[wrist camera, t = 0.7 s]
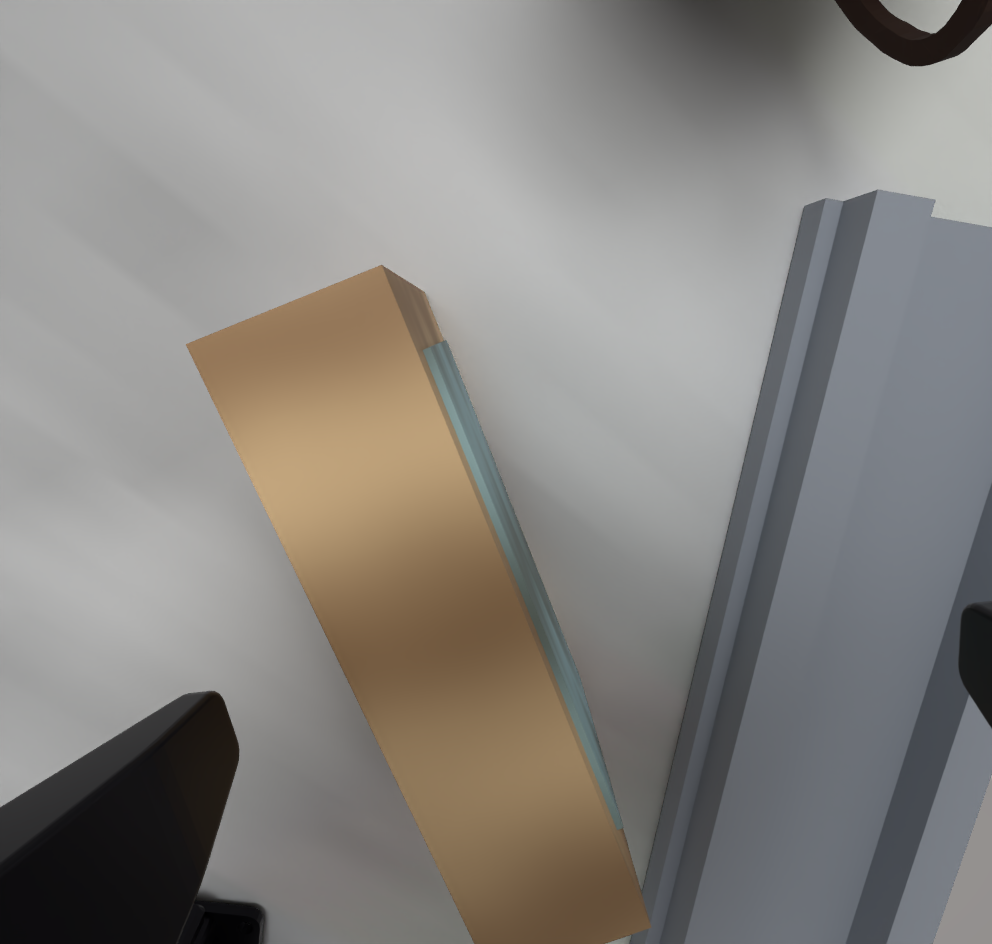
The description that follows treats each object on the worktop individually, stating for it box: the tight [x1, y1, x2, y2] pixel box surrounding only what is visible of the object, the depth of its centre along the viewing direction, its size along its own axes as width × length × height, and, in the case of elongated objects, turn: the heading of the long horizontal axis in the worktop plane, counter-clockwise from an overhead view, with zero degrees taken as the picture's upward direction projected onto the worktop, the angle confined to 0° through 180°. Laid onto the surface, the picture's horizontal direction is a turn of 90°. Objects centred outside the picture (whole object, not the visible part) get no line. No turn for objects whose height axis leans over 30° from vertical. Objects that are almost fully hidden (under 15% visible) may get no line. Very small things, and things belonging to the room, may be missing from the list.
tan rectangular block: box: [186, 265, 651, 944], centre depth 17 cm, size 14×4×9 cm, turn 21°
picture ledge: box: [630, 190, 992, 944], centre depth 21 cm, size 26×9×3 cm, turn 171°
